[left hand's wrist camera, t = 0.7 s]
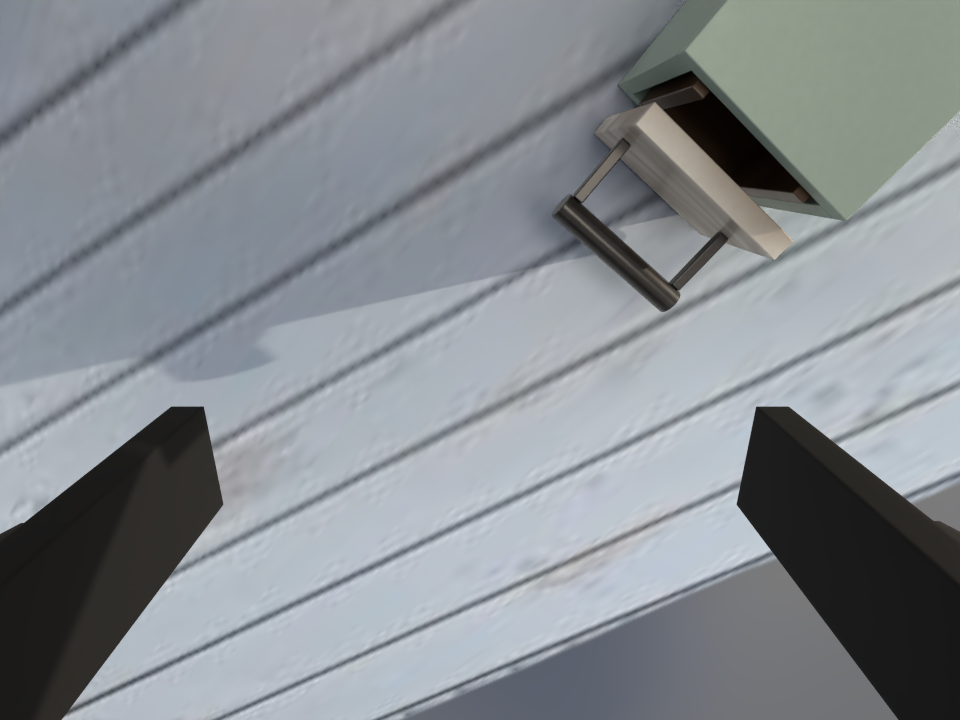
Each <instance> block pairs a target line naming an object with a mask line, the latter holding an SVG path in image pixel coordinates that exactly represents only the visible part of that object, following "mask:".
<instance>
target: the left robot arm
mask: <svg viewBox="0 0 960 720" xmlns="http://www.w3.org/2000/svg"><path fill="white" fill-rule="evenodd" d="M222 506H223V500H222V495H221V490H220V485H219V481H218V476H217V471H216V466H215V461H214V456H213V451H212V446H211V441H210V436H209V431H208V426H207V421H206V416H205V411H204V407H170V408H169V409H168V410H167V411H165V412H164V413H163V414H162V415H160V416H159V417H158V418H156V419H155V420H154V421H153V422H151V423H150V424H149V425H148V426H146V427H145V428H144V429H143V430H141V431H140V432H139V433H137V434H136V435H135V436H134V437H132V438H131V439H130V440H129V441H127V442H126V443H125V444H124V445H122V446H121V447H120V448H118V449H117V450H116V451H115V452H113V453H112V454H111V455H110V456H108V457H107V458H106V459H105V460H103V461H102V462H101V463H99V464H98V465H97V466H96V467H94V468H93V469H92V470H91V471H89V472H88V473H87V474H86V475H84V476H83V477H82V478H80V479H79V480H78V481H77V482H75V483H74V484H73V485H72V486H70V487H69V488H68V489H67V490H65V491H64V492H63V493H61V494H60V495H59V496H58V497H56V498H55V499H54V500H53V501H51V502H50V503H49V504H48V505H46V506H45V507H44V508H42V509H41V510H40V511H39V512H37V513H36V514H35V515H34V516H32V517H31V518H30V519H29V520H27V521H26V522H25V523H20V524H18V525H17V526H15V527H13V528H11V529H9V530H7V531H5V532H3V533H1V534H0V720H62V718H63V717H64V716H65V714H66V713H67V712H68V710H69V709H70V708H71V706H72V705H73V704H74V702H75V701H76V700H77V698H78V697H79V696H80V694H81V693H82V692H83V690H84V689H85V688H86V686H87V685H88V684H89V682H90V681H91V680H92V678H93V677H94V676H95V674H96V673H97V672H98V670H99V669H100V668H101V666H102V665H103V664H104V662H105V661H106V660H107V658H108V657H109V656H110V654H111V653H112V652H113V650H114V649H115V648H116V647H117V645H118V644H119V643H120V641H121V640H122V639H123V637H124V636H125V635H126V633H127V632H128V631H129V629H130V628H131V627H132V625H133V624H134V623H135V621H136V620H137V619H138V617H139V616H140V615H141V613H142V612H143V611H144V609H145V608H146V607H147V605H148V604H149V603H150V601H151V600H152V599H153V597H154V596H155V595H156V593H157V592H158V591H159V589H160V588H161V587H162V585H163V584H164V583H165V581H166V580H167V579H168V577H169V576H170V575H171V573H172V572H173V571H174V569H175V568H176V567H177V565H178V564H179V563H180V561H181V560H182V559H183V557H184V556H185V555H186V553H187V552H188V551H189V549H190V548H191V547H192V545H193V544H194V543H195V541H196V540H197V539H198V537H199V536H200V535H201V533H202V532H203V531H204V529H205V528H206V527H207V525H208V524H209V523H210V521H211V520H212V519H213V518H214V516H215V515H216V514H217V512H218V511H219V510H220V508H221V507H222ZM737 506H738V507H739V508H740V510H741V511H742V512H743V514H744V515H745V516H746V518H747V519H748V520H749V521H750V523H751V524H752V525H753V527H754V528H755V529H756V531H757V532H758V533H759V535H760V536H761V537H762V539H763V540H764V541H765V543H766V544H767V545H768V547H769V548H770V549H771V551H772V552H773V553H774V555H775V556H776V557H777V559H778V560H779V561H780V563H781V564H782V565H783V567H784V568H785V569H786V571H787V572H788V573H789V575H790V576H791V577H792V579H793V580H794V581H795V583H796V584H797V585H798V587H799V588H800V589H801V591H802V592H803V593H804V595H805V596H806V597H807V599H808V600H809V601H810V603H811V604H812V605H813V607H814V608H815V609H816V611H817V612H818V613H819V615H820V616H821V617H822V619H823V620H824V621H825V623H826V624H827V625H828V626H829V628H830V629H831V630H832V632H833V633H834V635H835V636H836V637H837V638H838V640H839V641H840V642H841V644H842V645H843V646H844V648H845V649H846V650H847V652H848V653H849V654H850V656H851V657H852V658H853V660H854V661H855V662H856V664H857V665H858V666H859V668H860V669H861V670H862V672H863V673H864V674H865V676H866V677H867V678H868V680H869V681H870V682H871V684H872V685H873V686H874V688H875V689H876V690H877V692H878V693H879V694H880V696H881V697H882V698H883V700H884V701H885V702H886V704H887V705H888V706H889V708H890V709H891V710H892V712H893V713H894V714H895V716H896V717H897V718H898V720H960V532H959V531H957V530H955V529H954V528H952V527H950V526H948V525H946V524H944V523H942V522H940V521H933V520H931V519H930V518H929V517H928V516H926V515H925V514H924V513H922V512H921V511H920V510H919V509H917V508H916V507H915V506H914V505H912V504H911V503H910V502H909V501H907V500H906V499H905V498H904V497H902V496H901V495H900V494H899V493H897V492H896V491H895V490H893V489H892V488H891V487H890V486H888V485H887V484H886V483H885V482H883V481H882V480H881V479H880V478H878V477H877V476H876V475H874V474H873V473H872V472H871V471H869V470H868V469H867V468H866V467H864V466H863V465H862V464H861V463H859V462H858V461H857V460H855V459H854V458H853V457H852V456H850V455H849V454H848V453H847V452H845V451H844V450H843V449H842V448H840V447H839V446H838V445H836V444H835V443H834V442H833V441H831V440H830V439H829V438H828V437H826V436H825V435H824V434H823V433H821V432H820V431H819V430H817V429H816V428H815V427H814V426H812V425H811V424H810V423H809V422H807V421H806V420H805V419H804V418H802V417H801V416H800V415H798V414H797V413H796V412H795V411H793V410H792V409H791V408H790V407H756V411H755V416H754V421H753V426H752V431H751V436H750V441H749V446H748V451H747V456H746V461H745V466H744V471H743V476H742V481H741V485H740V490H739V495H738V500H737Z"/></svg>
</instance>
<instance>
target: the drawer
mask: <svg viewBox="0 0 960 720" xmlns="http://www.w3.org/2000/svg"><path fill="white" fill-rule="evenodd" d="M638 106H639V107H637V108H634V109H631V110H628V111H625V112H621V113H618V114H615V115H612V116H609V117H607V118H606V119H605V120H604V121H603V123H602V124H601V125H600V126H599V127H598V129H597V130H596V131H595V132H594V134H595V135H596V136H597V137H598V138H599V139H600V140H601V141H602V142H603V143H605V144H606V145H607V146H608V147H609V148H610V149H611V151H610V152H609V153H608V154H607V155H606V156H605V158H604V159H603V160H602V161H601V162H600V164H599V165H598V166H597V167H596V168H595V170H594V171H593V172H592V173H591V174H590V175H589V177H588V178H587V179H586V180H585V181H584V183H583V184H582V185H581V186H580V187H579V189H578V190H577V191H576V192H575V193H574V194H573V196H572V195H571V194H569V195H568V196H566V197H565V198H564V199H563V200H562V201H561V202H560V203H559V205H558V206H557V207H556V209H555V210H554V212H553V214H552V217H553V218H555V219H556V220H557V221H558V222H559V223H560V224H561V225H563V226H564V227H565V228H566V229H567V230H568V231H569V232H571V233H572V234H573V235H574V236H575V237H576V238H577V239H579V240H580V241H581V242H582V243H583V244H584V245H585V246H586V247H588V248H589V249H590V250H591V251H592V252H593V253H594V254H596V255H597V256H598V257H599V258H600V259H601V260H602V261H604V262H605V263H606V264H607V265H608V266H609V267H610V268H612V269H613V270H614V271H615V272H616V273H617V274H618V275H620V276H621V277H622V278H623V279H624V280H625V281H626V282H627V283H629V284H630V285H631V286H632V287H633V288H634V289H635V290H637V291H638V292H639V293H640V294H641V295H642V296H643V297H645V298H646V299H647V300H648V301H649V302H650V303H651V304H653V305H654V306H655V307H656V308H657V309H658V310H659V311H661V312H665V311H667V310H669V309H671V308H672V307H673V306H674V305H675V304H676V303H677V301H678V300H679V298H680V292H679V290H680V289H681V288H682V287H683V286H684V285H685V284H686V283H687V282H688V281H689V280H690V279H691V278H692V277H693V276H694V275H695V274H696V273H697V272H698V271H699V270H700V269H701V268H702V267H703V266H704V265H705V264H706V262H707V261H708V260H709V259H710V258H711V257H712V256H713V255H714V254H715V253H716V252H717V251H718V250H719V249H720V248H721V247H722V246H723V245H724V244H725V243H727V244H730V245H733V246H735V247H738V248H741V249H744V250H747V251H750V252H753V253H756V254H759V255H761V256H764V257H767V258H770V259H773V260H775V259H776V258H777V257H778V256H779V255H780V254H781V253H782V252H783V251H784V250H785V249H786V248H787V247H788V246H789V245H790V244H791V243H792V242H793V240H792V239H791V238H790V237H789V236H788V235H787V234H786V233H785V232H784V231H783V230H782V229H781V228H780V227H779V226H778V225H777V224H776V223H775V222H774V221H773V220H772V219H771V218H770V217H769V216H768V215H767V214H766V213H765V212H764V211H763V210H762V209H761V208H760V207H759V206H758V205H757V204H756V203H755V202H754V201H753V200H752V199H751V198H750V197H749V196H755V197H762V198H769V199H776V200H784V201H791V202H798V203H804V202H805V201H806V200H807V199H808V198H809V197H810V196H811V195H810V194H809V193H808V192H807V191H806V190H805V189H804V188H803V187H802V186H801V185H800V184H799V183H798V182H797V180H796V179H795V178H794V177H793V176H792V175H791V174H790V173H789V172H788V171H787V170H786V169H785V168H784V167H783V166H782V165H781V164H780V163H779V162H778V161H777V160H776V158H775V157H774V156H773V155H772V154H771V153H770V152H769V151H768V150H767V149H766V148H765V147H764V146H763V145H762V144H761V143H760V142H759V141H758V140H757V139H756V138H755V136H754V135H753V134H752V133H751V132H750V131H749V130H748V129H747V128H746V127H745V126H744V125H743V124H742V123H741V122H740V121H739V120H738V119H737V118H736V117H735V116H734V114H733V113H732V112H731V111H730V110H729V109H728V108H727V107H726V106H725V105H724V104H723V103H722V102H721V101H720V100H719V99H718V98H717V97H716V96H715V95H714V94H713V92H712V91H711V90H710V89H709V88H708V87H707V86H706V85H705V84H704V83H703V82H702V81H701V80H700V79H699V78H698V77H697V76H696V75H695V74H694V73H693V72H692V71H689V72H687V73H684V74H682V75H680V76H677V77H675V78H672V79H670V80H667V81H665V82H662V83H660V84H657V85H655V86H653V87H652V88H651V89H650V90H649V92H648V93H647V94H646V95H645V96H644V98H643V99H642V100H641V101H640V102H639V104H638ZM620 159H621V160H622V161H623V162H625V163H626V164H627V165H628V166H629V167H630V168H631V169H632V170H633V171H634V172H635V173H636V174H637V175H638V176H639V177H640V178H641V179H642V180H643V181H645V182H646V183H647V184H648V185H649V186H650V187H651V188H652V189H653V190H654V191H655V192H656V193H657V194H658V195H659V196H660V197H661V198H662V199H663V200H665V201H666V202H667V203H668V204H669V205H670V206H671V207H672V208H673V209H674V210H675V211H676V212H677V213H678V214H679V215H680V216H681V217H682V218H684V219H685V220H686V221H687V222H688V223H689V224H690V225H691V226H692V227H693V228H694V229H695V230H696V231H697V232H698V233H699V234H701V235H704V236H707V237H709V238H711V239H710V240H709V241H708V242H707V243H706V244H705V246H704V247H703V248H702V249H701V250H700V251H699V252H698V253H697V254H696V255H695V256H694V257H693V258H692V259H691V260H690V261H689V262H688V263H687V264H686V265H685V266H684V267H683V269H682V270H681V271H680V272H679V273H678V274H677V275H676V276H675V277H674V278H673V279H672V280H671V281H670V282H668V281H667V280H665V279H664V278H663V277H662V276H661V275H660V274H659V273H658V272H657V271H655V270H654V269H653V268H652V267H651V266H650V265H649V264H648V263H647V262H645V261H644V260H643V259H642V258H641V257H640V256H639V255H638V254H637V253H635V252H634V251H633V250H632V249H631V248H630V247H629V246H628V245H627V244H625V243H624V242H623V241H622V240H621V239H620V238H619V237H618V236H617V235H615V234H614V233H613V232H612V231H611V230H610V229H609V228H608V227H607V226H605V225H604V224H603V223H602V222H601V221H600V220H599V219H598V218H597V217H595V216H594V215H593V214H592V213H591V212H590V211H589V210H588V209H587V208H586V207H584V206H583V205H582V204H581V203H583V202H584V201H585V199H586V198H587V197H588V196H589V195H590V194H591V192H592V191H593V190H594V189H595V188H596V187H597V185H598V184H599V183H600V182H601V181H602V180H603V178H604V177H605V176H606V175H607V174H608V173H609V171H610V170H611V169H612V168H613V167H614V165H615V164H616V163H617V162H618V161H619V160H620Z"/></svg>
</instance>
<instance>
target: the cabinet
mask: <svg viewBox="0 0 960 720" xmlns="http://www.w3.org/2000/svg"><path fill="white" fill-rule="evenodd" d="M689 71H692V72H693V73H694V74H695V75H696V76H697V77H698V78H699V79H700V80H701V81H702V82H703V83H704V84H705V85H706V86H707V87H708V88H709V89H710V90H711V91H712V92H713V94H714V95H715V96H716V97H717V98H718V99H719V100H720V101H721V102H722V103H723V104H724V105H725V106H726V107H727V108H728V109H729V110H730V111H731V112H732V113H733V114H734V116H735V117H736V118H737V119H738V120H739V121H740V122H741V123H742V124H743V125H744V126H745V127H746V128H747V129H748V130H749V131H750V132H751V133H752V134H753V135H754V136H755V138H756V139H757V140H758V141H759V142H760V143H761V144H762V145H763V146H764V147H765V148H766V149H767V150H768V151H769V152H770V153H771V154H772V155H773V156H774V157H775V158H776V160H777V161H778V162H779V163H780V164H781V165H782V166H783V167H784V168H785V169H786V170H787V171H788V172H789V173H790V174H791V175H792V176H793V177H794V178H795V179H796V180H797V182H798V183H799V184H800V185H801V186H802V187H803V188H804V189H805V190H806V191H807V192H808V193H809V194H810V195H811V196H810V197H809V198H808V199H807V200H806V201H805V202H804V203H798V202H791V201H784V200H776V199H769V198H762V197H755V196H749V197H750V198H751V199H752V200H753V201H754V202H755V203H756V204H757V205H758V206H762V207H768V208H774V209H780V210H785V211H791V212H797V213H803V214H809V215H814V216H820V217H826V218H833V219H838V220H843V221H846V220H847V219H848V218H850V217H851V216H852V215H853V214H854V213H855V212H856V211H857V210H858V209H859V208H860V207H861V206H862V205H863V204H864V203H865V202H866V201H867V200H868V199H869V198H870V197H871V196H872V195H873V194H874V193H875V192H876V191H877V190H878V189H880V188H881V187H882V186H883V185H884V184H885V183H886V182H887V181H888V180H889V179H890V178H891V177H892V176H893V175H894V174H895V173H896V172H897V171H898V170H899V169H900V168H901V167H902V166H903V165H904V164H905V163H906V162H907V161H908V160H910V159H911V158H912V157H913V156H914V155H915V154H916V153H917V152H918V151H919V150H920V149H921V148H922V147H923V146H924V145H925V144H926V143H927V142H928V141H929V140H930V139H931V138H932V137H933V136H934V135H935V134H936V133H937V132H938V131H940V130H941V129H942V128H943V127H944V126H945V125H946V124H947V123H948V122H949V121H950V120H951V119H952V118H953V117H954V116H955V115H956V114H957V113H958V112H959V111H960V0H687V1H686V2H685V3H684V4H683V5H682V7H681V8H680V9H679V10H678V12H677V13H676V14H675V15H674V16H673V18H672V19H671V20H670V21H669V23H668V24H667V25H666V26H665V28H664V29H663V30H662V31H661V32H660V34H659V35H658V36H657V37H656V39H655V40H654V41H653V42H652V44H651V45H650V46H649V47H648V48H647V50H646V51H645V52H644V53H643V55H642V56H641V57H640V58H639V60H638V61H637V62H636V63H635V64H634V66H633V67H632V68H631V69H630V71H629V72H628V73H627V74H626V76H625V77H624V78H623V79H622V80H621V82H620V83H619V84H618V86H619V87H620V88H621V89H622V90H623V91H624V92H625V93H626V94H627V95H628V96H629V97H630V98H631V99H632V100H633V101H634V102H635V103H636V104H637V105H638V104H639V102H640V101H641V100H642V99H643V98H644V96H645V95H646V94H647V93H648V92H649V90H650V89H651V88H652V87H653V86H655V85H657V84H660V83H662V82H665V81H667V80H670V79H672V78H675V77H677V76H680V75H682V74H684V73H687V72H689Z"/></svg>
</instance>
